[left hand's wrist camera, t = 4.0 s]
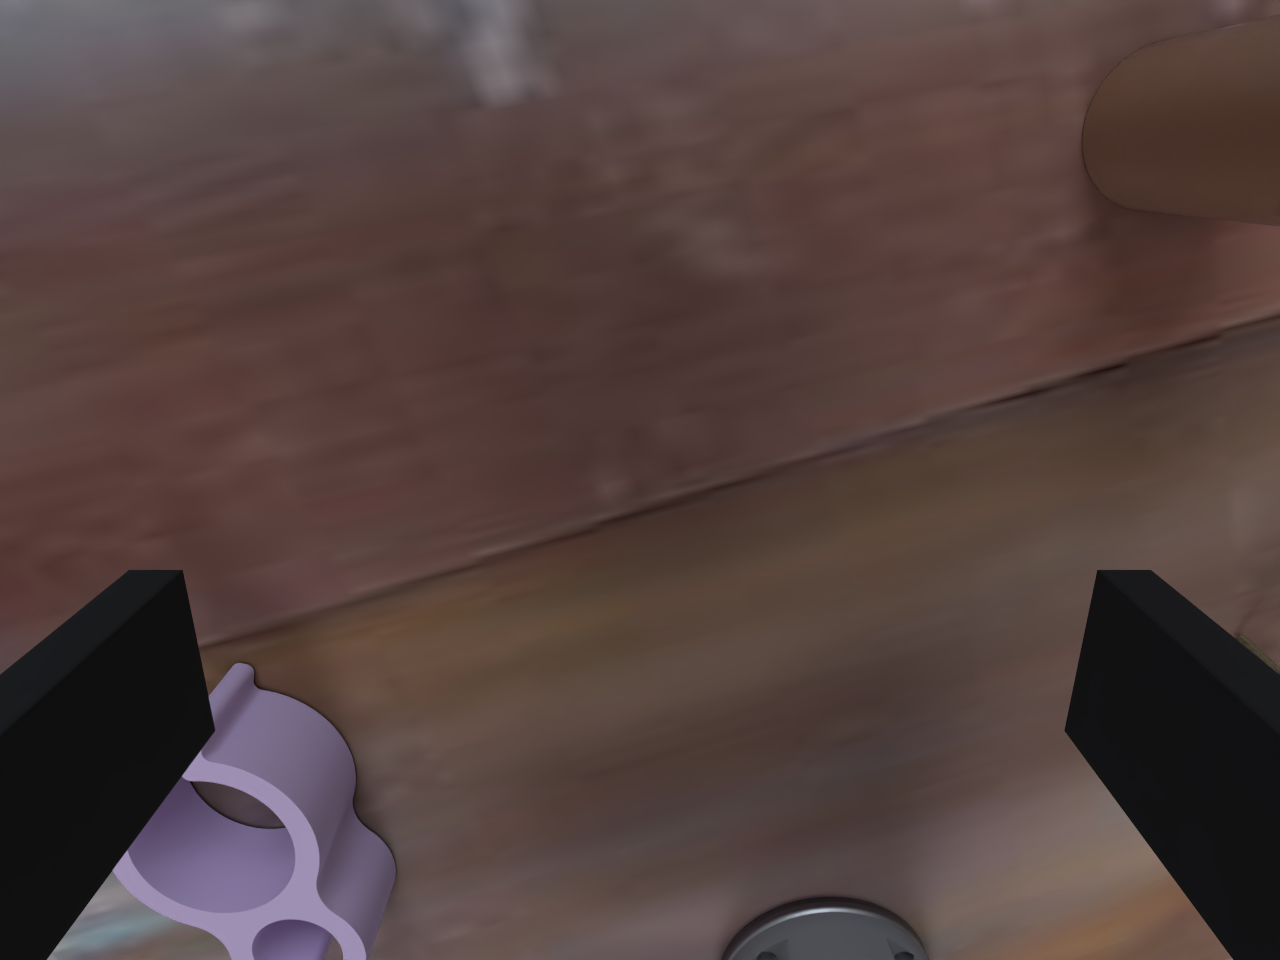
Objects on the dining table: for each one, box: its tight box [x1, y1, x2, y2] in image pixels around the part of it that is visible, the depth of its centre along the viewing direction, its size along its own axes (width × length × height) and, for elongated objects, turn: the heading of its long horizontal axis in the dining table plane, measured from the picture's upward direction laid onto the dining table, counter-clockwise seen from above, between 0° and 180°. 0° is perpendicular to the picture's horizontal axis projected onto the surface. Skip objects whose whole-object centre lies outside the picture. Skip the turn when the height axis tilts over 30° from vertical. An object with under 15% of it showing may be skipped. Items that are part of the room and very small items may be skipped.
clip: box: [113, 663, 396, 960], centre depth 54 cm, size 20×12×7 cm, turn 26°
